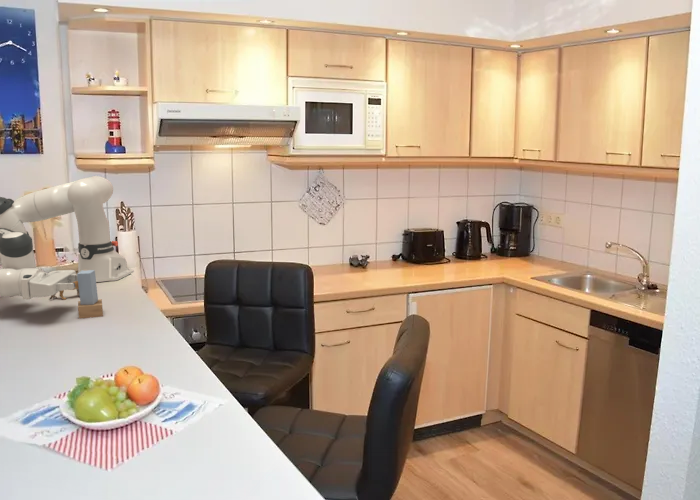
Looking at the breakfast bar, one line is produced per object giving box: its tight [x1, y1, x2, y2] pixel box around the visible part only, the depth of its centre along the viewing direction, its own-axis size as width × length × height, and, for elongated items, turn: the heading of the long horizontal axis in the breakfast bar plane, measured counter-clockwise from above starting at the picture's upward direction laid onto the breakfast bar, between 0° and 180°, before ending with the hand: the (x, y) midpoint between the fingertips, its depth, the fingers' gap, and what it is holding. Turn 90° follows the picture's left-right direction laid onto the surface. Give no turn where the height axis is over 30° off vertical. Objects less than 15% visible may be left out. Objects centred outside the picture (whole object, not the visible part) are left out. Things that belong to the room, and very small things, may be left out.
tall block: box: [76, 270, 99, 305], centre depth 205 cm, size 4×4×10 cm
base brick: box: [77, 298, 104, 319], centre depth 207 cm, size 7×7×4 cm
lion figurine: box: [48, 281, 80, 301], centre depth 226 cm, size 15×5×9 cm, turn 131°
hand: (80, 282), depth 204 cm, fingers open, 8 cm apart
